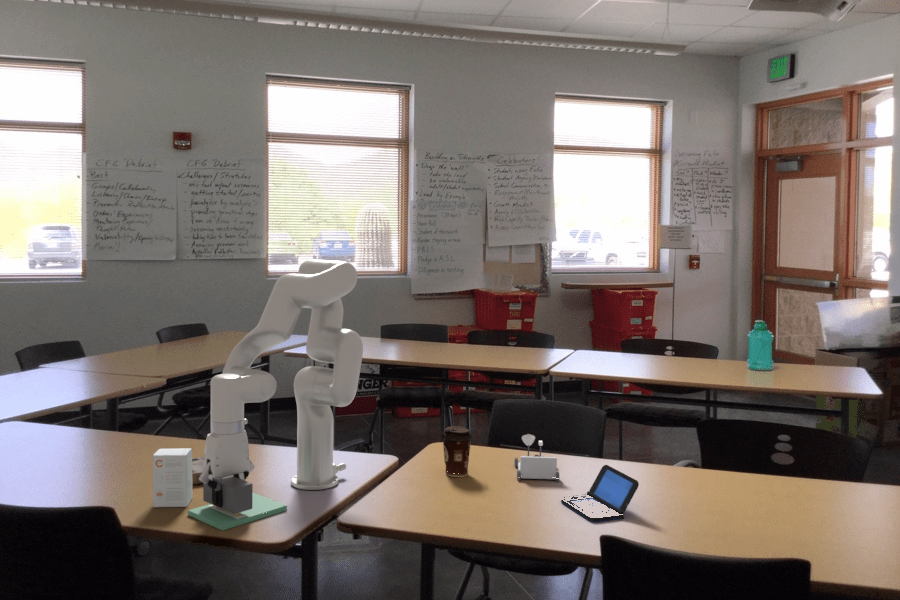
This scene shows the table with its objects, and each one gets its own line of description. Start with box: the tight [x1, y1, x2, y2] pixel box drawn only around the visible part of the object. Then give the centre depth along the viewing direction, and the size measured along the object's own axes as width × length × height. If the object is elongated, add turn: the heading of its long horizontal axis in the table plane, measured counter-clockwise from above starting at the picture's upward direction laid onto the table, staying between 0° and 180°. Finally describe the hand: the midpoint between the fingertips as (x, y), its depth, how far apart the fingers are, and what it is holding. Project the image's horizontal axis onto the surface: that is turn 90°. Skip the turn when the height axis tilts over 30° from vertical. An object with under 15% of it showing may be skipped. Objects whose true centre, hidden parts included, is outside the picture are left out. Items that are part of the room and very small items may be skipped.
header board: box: [187, 491, 288, 532], centre depth 185 cm, size 18×14×4 cm
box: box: [192, 456, 204, 486], centre depth 212 cm, size 11×17×3 cm, turn 32°
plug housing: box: [202, 475, 253, 514], centre depth 183 cm, size 5×13×6 cm, turn 50°
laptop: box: [560, 464, 640, 523], centre depth 193 cm, size 16×13×9 cm
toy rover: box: [514, 432, 560, 483], centre depth 223 cm, size 18×10×12 cm
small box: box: [152, 447, 194, 508], centre depth 190 cm, size 8×6×13 cm
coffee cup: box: [441, 425, 473, 478], centre depth 219 cm, size 9×8×13 cm
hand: (227, 502), depth 183 cm, fingers closed on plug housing, 4 cm apart
